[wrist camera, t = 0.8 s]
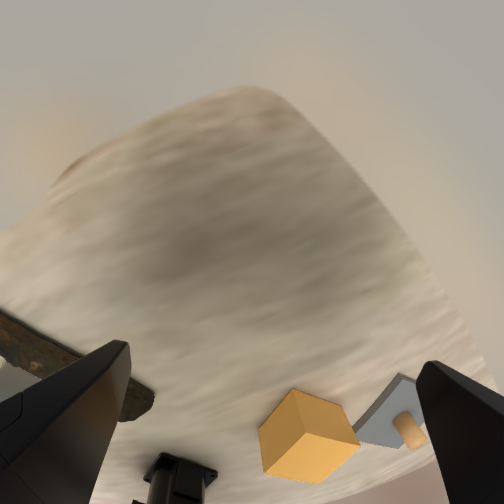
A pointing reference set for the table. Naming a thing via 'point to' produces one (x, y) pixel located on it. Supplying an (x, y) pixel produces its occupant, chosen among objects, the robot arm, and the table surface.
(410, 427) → the grey base with peg
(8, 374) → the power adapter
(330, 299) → the table surface
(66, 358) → the hand tool
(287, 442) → the orange foam cube
